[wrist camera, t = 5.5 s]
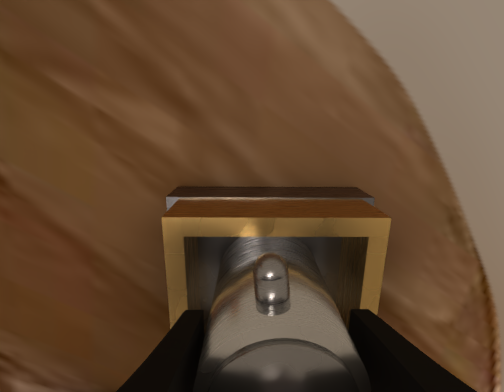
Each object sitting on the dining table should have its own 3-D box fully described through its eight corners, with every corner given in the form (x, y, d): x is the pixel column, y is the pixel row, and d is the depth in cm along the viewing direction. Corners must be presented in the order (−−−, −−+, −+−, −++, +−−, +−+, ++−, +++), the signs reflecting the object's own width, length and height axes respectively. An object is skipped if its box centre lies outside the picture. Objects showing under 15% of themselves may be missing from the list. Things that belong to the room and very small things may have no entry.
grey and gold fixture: (336, 377, 17) (366, 465, 13) (189, 378, 17) (169, 468, 12) (356, 187, 14) (407, 216, 9) (177, 186, 14) (145, 216, 9)
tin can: (317, 311, 13) (373, 471, 7) (225, 319, 13) (203, 483, 7) (313, 194, 12) (381, 270, 6) (209, 203, 12) (165, 288, 6)
